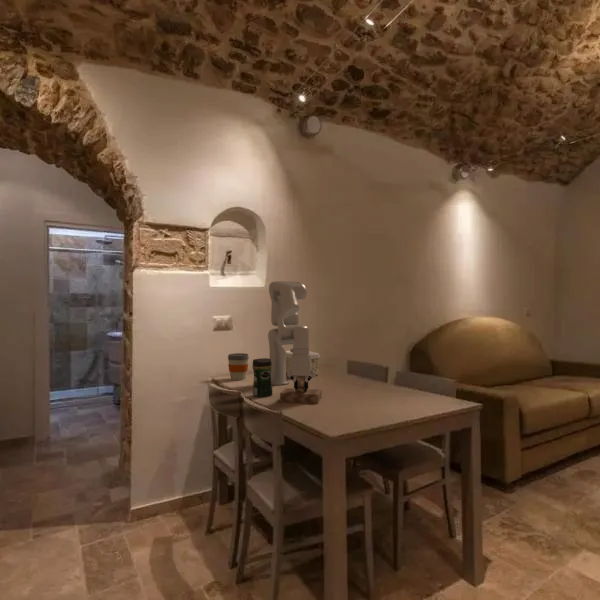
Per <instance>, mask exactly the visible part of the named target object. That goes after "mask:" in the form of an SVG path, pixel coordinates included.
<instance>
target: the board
mask: <svg viewBox="0 0 600 600" xmlns="http://www.w3.org/2000/svg"><path fill="white" fill-rule="evenodd" d="M322 391H323V390H322V389H319V388H308V389H307V390H306V391H305V392H304V393H301V392H298V389H297V390H295V388H294V387H291V388H290V387H285V388H284V389H283V390H281V392H280V393H279V402H280V403H296V404H297V403H299V404H300V403H301V404H319V403H320V401H321V400H320V399H322V398H323V397H322V394H323V393H322Z"/></svg>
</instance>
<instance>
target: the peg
mask: <svg viewBox="0 0 600 600" xmlns="http://www.w3.org/2000/svg"><path fill="white" fill-rule="evenodd" d="M305 381H306V380H305V376H297V388H298V392H301V393H304V392H305Z"/></svg>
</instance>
